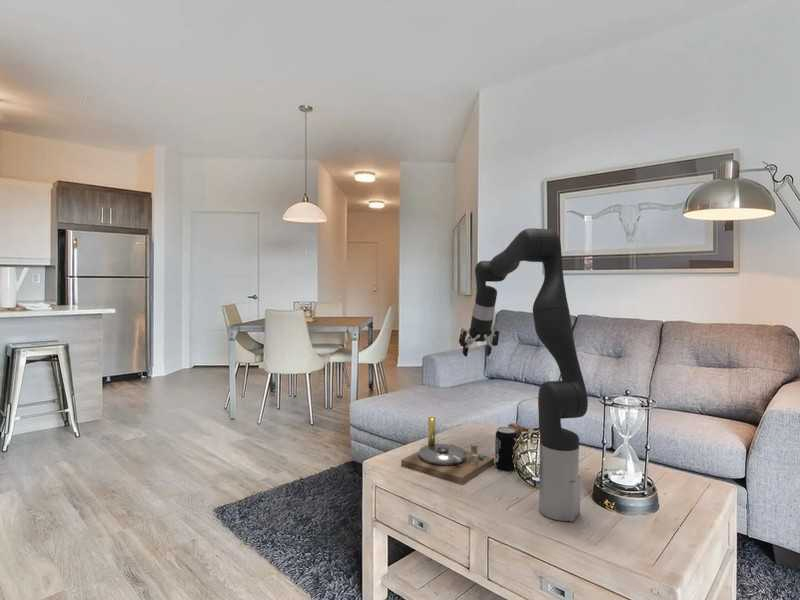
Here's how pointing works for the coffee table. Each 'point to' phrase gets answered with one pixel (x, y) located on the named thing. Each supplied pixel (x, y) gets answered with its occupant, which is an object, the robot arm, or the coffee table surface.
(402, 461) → the turntable
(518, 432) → the lion figurine
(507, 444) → the beverage can
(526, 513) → the coffee table surface
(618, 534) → the coffee table surface
